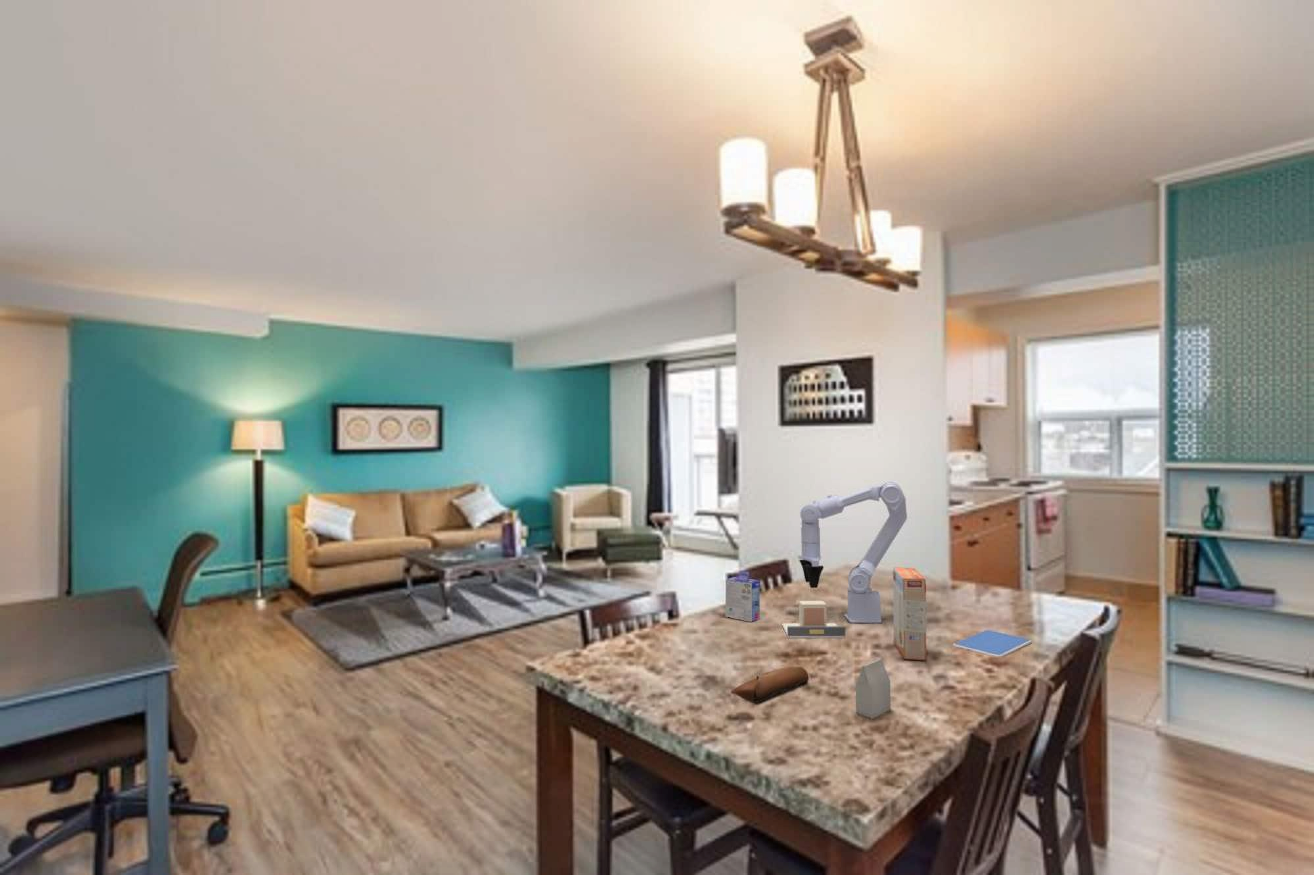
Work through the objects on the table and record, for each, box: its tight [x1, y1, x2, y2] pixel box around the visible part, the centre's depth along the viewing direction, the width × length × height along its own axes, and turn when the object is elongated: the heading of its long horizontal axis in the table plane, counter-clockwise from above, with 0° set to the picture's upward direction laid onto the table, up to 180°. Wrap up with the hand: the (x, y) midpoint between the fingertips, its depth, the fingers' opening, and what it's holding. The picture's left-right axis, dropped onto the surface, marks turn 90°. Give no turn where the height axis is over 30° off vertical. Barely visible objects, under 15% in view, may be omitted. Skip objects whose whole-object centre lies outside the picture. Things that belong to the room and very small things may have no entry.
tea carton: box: [798, 600, 827, 626], centre depth 180 cm, size 4×7×8 cm, turn 88°
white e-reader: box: [781, 622, 846, 639], centre depth 181 cm, size 16×12×3 cm
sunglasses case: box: [731, 666, 810, 705], centre depth 140 cm, size 18×7×7 cm
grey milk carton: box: [855, 658, 892, 719], centre depth 128 cm, size 4×7×10 cm, turn 128°
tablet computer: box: [952, 629, 1033, 658], centre depth 167 cm, size 19×13×1 cm, turn 127°
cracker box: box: [892, 567, 927, 661], centre depth 163 cm, size 14×6×21 cm, turn 168°
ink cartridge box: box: [725, 570, 761, 623], centre depth 196 cm, size 10×6×14 cm, turn 53°
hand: (811, 584), depth 197 cm, fingers open, 7 cm apart
